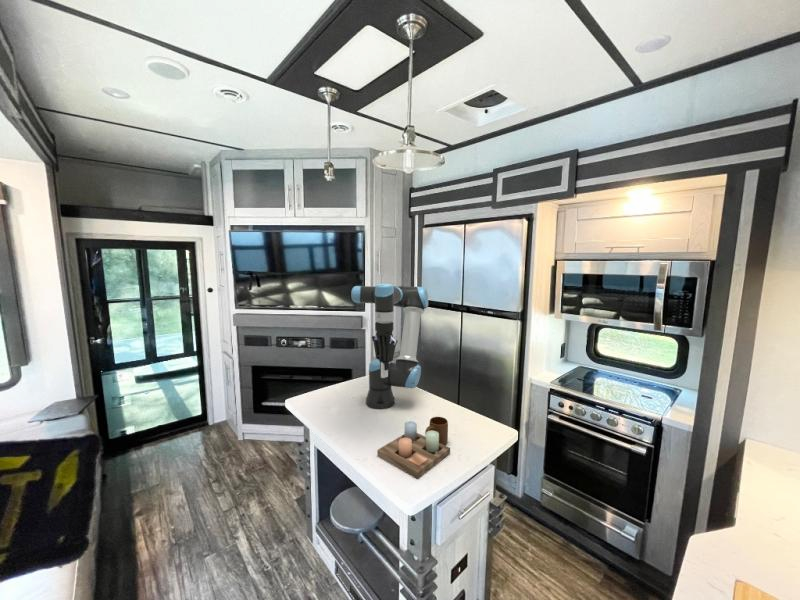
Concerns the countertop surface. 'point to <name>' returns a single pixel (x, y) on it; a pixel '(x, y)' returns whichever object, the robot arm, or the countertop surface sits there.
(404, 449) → the peach rounded cylinder
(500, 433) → the countertop surface
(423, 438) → the wooden compartment tray
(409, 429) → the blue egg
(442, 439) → the mug
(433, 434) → the pale green rounded cylinder
